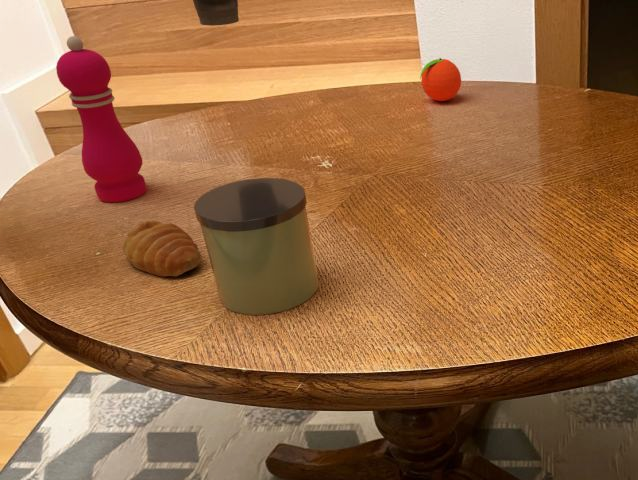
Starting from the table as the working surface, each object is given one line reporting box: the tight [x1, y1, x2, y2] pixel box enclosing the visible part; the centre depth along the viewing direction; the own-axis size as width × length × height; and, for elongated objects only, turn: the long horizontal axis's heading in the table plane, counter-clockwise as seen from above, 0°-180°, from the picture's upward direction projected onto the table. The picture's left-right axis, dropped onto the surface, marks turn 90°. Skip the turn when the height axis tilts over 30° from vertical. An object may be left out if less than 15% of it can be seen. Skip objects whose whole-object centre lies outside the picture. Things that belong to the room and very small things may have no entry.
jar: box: [193, 177, 319, 316], centre depth 72 cm, size 10×10×10 cm
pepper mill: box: [55, 35, 148, 203], centre depth 93 cm, size 7×7×20 cm
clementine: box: [419, 57, 462, 102], centre depth 126 cm, size 8×7×7 cm
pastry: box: [122, 220, 202, 277], centre depth 80 cm, size 9×7×4 cm
